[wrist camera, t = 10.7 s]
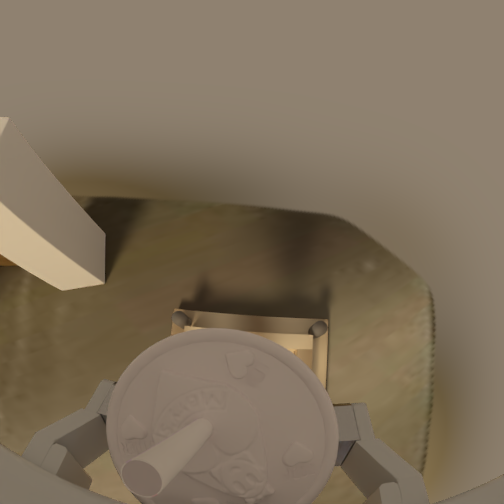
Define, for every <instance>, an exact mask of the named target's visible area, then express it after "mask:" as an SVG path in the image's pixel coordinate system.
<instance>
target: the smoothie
mask: <svg viewBox="0 0 504 504" xmlns="http://www.w3.org/2000/svg"><path fill="white" fill-rule="evenodd" d="M106 434H107V442H108V447H109V451H110V455H111V458H112V461H113V463H114V465H115V468H116V470H117V472H118V474H119V475H120V477H121V479H122V481H123V483H124V484H125V486H126V487H127V488H128V489H129V490H130V492H131V493H132V494H133V495H134V496H135V497H136V498H137V499H138V500H139V501H140V502H141V503H142V504H311V503H312V502H313V501H314V500H315V499H316V498H317V497H318V495H319V494H320V493H321V491H322V490H323V488H324V487H325V485H326V483H327V482H328V480H329V478H330V476H331V473H332V471H333V468H334V465H335V461H336V458H337V452H338V443H339V433H338V423H337V418H336V413H335V410H334V407H333V404H332V402H331V399H330V397H329V395H328V393H327V391H326V389H325V388H324V386H323V384H322V383H321V381H320V380H319V379H318V377H317V376H316V375H315V373H314V372H313V371H312V370H311V369H310V368H309V367H308V366H307V365H306V364H305V363H304V362H303V361H302V360H301V359H300V358H298V357H297V356H296V355H295V354H293V353H292V352H291V351H289V350H287V349H286V348H284V347H283V346H281V345H279V344H277V343H275V342H273V341H271V340H269V339H267V338H264V337H262V336H259V335H256V334H253V333H249V332H245V331H241V330H235V329H227V328H203V329H196V330H190V331H186V332H182V333H178V334H175V335H172V336H170V337H167V338H165V339H163V340H161V341H159V342H157V343H155V344H154V345H152V346H150V347H149V348H147V349H146V350H145V351H143V352H142V353H141V354H140V355H139V356H137V357H136V358H135V359H134V360H133V361H132V362H131V363H130V365H129V366H128V367H127V368H126V369H125V371H124V372H123V374H122V375H121V376H120V378H119V380H118V382H117V383H116V385H115V388H114V390H113V392H112V395H111V398H110V401H109V406H108V411H107V419H106Z"/></svg>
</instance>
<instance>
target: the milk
mask: <svg viewBox="0 0 504 504" xmlns="http://www.w3.org/2000/svg"><path fill="white" fill-rule="evenodd" d="M105 239H106V234H105V233H104V232H103V231H102V229H101V228H100V227H99V226H98V225H97V224H96V223H95V222H94V221H93V220H92V219H91V218H90V216H89V215H88V214H87V213H86V212H85V211H84V210H83V209H82V208H81V206H80V205H79V204H78V203H77V202H76V201H75V200H74V198H73V197H72V196H71V195H70V194H69V193H68V192H67V190H66V189H65V188H64V187H63V186H62V184H61V183H60V182H59V181H58V180H57V178H56V177H55V176H54V175H53V174H52V173H51V171H50V170H49V169H48V167H47V166H46V165H45V164H44V163H43V161H42V160H41V159H40V157H39V156H38V155H37V154H36V152H35V151H34V150H33V149H32V147H31V146H30V145H29V143H28V142H27V141H26V139H25V138H24V137H23V135H22V134H21V133H20V131H19V130H18V129H17V127H16V126H15V124H14V123H13V122H12V120H11V119H10V118H9V117H0V254H1V255H2V256H4V257H6V258H7V259H9V260H10V261H12V262H13V263H15V264H17V265H18V266H20V267H22V268H23V269H25V270H27V271H28V272H30V273H32V274H33V275H35V276H37V277H39V278H40V279H42V280H44V281H46V282H47V283H49V284H51V285H53V286H54V287H56V288H58V289H60V290H62V291H63V290H70V289H76V288H82V287H88V286H94V285H100V284H105Z"/></svg>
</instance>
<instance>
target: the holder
mask: <svg viewBox="0 0 504 504" xmlns="http://www.w3.org/2000/svg"><path fill="white" fill-rule="evenodd" d="M172 321H173V324H172V332H171V336H172V335H175V334H178V333H182V332H186V331H190V330H196V329H203V328H227V329H235V330H241V331H245V332H249V333H253V334H256V335H259V336H262V337H264V338H267V339H269V340H271V341H273V342H275V343H277V344H279V345H281V346H283V347H284V348H286V349H287V350H289V351H291V352H292V353H293V354H295V355H296V356H297V357H298V358H300V359H301V360H302V361H303V362H304V363H305V364H306V365H307V366H308V367H309V368H310V369H311V370H312V371H313V372H314V373H315V375H316V376H317V377H318V379H319V380H320V381H321V383H322V384H323V386H324V388H326V369H327V344H328V319H307V318H285V317H267V316H251V315H237V314H225V313H213V312H202V311H192V310H182V309H174V313H173V315H172Z"/></svg>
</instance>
